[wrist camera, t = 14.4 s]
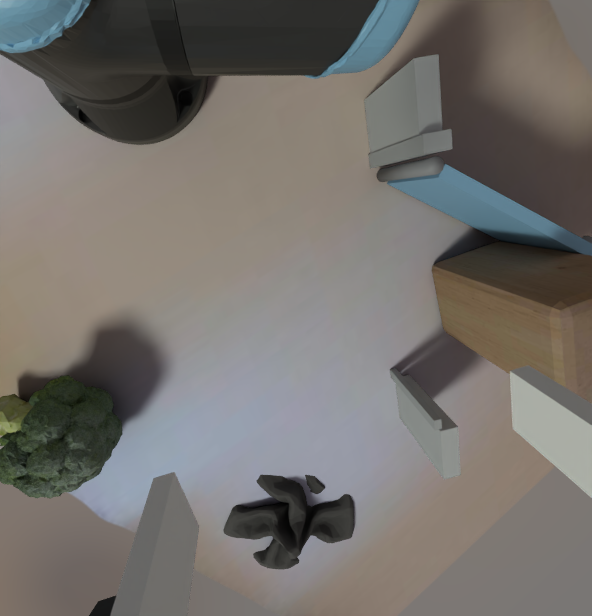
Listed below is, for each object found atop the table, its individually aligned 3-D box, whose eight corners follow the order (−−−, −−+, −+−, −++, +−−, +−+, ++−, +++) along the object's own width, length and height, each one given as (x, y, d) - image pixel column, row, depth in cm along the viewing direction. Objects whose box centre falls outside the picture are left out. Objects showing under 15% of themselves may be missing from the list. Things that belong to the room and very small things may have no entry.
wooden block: (500, 237, 46) (682, 264, 27) (509, 308, 49) (678, 377, 30) (427, 263, 45) (559, 308, 26) (440, 332, 48) (567, 418, 29)
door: (374, 178, 41) (425, 170, 29) (387, 150, 40) (444, 130, 29) (548, 266, 47) (645, 287, 36) (562, 242, 46) (665, 256, 35)
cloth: (375, 516, 57) (390, 552, 51) (283, 581, 58) (288, 624, 52) (289, 427, 50) (296, 457, 44) (188, 504, 51) (181, 543, 46)
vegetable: (-4, 342, 39) (106, 387, 35) (72, 377, 50) (162, 415, 46) (-95, 455, 34) (22, 522, 30) (13, 466, 45) (108, 516, 41)
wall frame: (358, 100, 39) (412, 54, 26) (383, 96, 39) (448, 48, 27) (395, 418, 51) (443, 487, 39) (414, 414, 52) (467, 481, 39)
